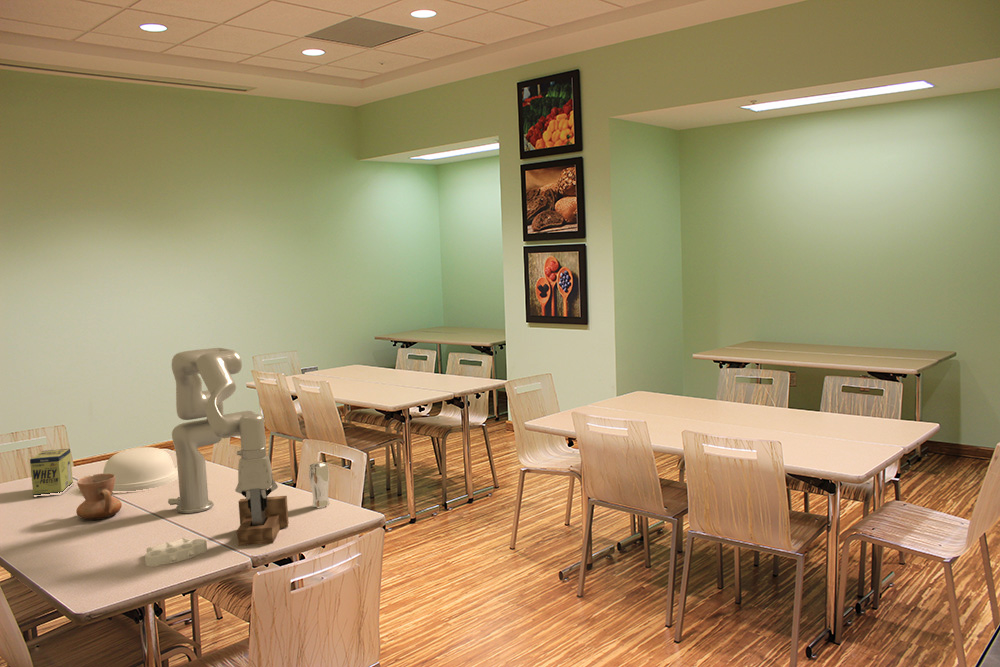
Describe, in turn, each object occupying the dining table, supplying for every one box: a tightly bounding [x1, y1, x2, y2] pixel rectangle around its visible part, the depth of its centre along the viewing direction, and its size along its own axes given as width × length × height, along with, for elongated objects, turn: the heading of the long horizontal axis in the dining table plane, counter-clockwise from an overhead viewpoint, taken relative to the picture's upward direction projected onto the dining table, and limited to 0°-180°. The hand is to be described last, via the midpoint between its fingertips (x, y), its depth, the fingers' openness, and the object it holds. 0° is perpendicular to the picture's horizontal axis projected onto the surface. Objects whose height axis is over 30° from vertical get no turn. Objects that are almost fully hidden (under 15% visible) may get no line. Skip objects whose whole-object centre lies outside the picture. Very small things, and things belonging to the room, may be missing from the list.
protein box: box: [29, 448, 74, 495], centre depth 316 cm, size 10×16×16 cm
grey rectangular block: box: [250, 488, 266, 526], centre depth 251 cm, size 3×6×12 cm, turn 6°
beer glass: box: [308, 462, 331, 508], centre depth 282 cm, size 7×7×15 cm
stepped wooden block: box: [236, 495, 290, 547], centre depth 253 cm, size 15×17×10 cm
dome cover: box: [102, 446, 178, 491], centre depth 324 cm, size 32×30×14 cm
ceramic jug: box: [76, 472, 123, 521], centre depth 280 cm, size 18×14×14 cm
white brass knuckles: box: [144, 537, 208, 567], centre depth 239 cm, size 3×18×15 cm
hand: (258, 509), depth 251 cm, fingers closed on grey rectangular block, 3 cm apart
